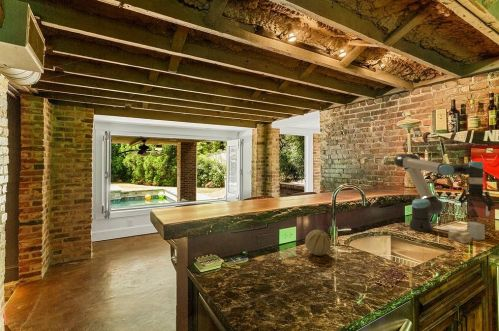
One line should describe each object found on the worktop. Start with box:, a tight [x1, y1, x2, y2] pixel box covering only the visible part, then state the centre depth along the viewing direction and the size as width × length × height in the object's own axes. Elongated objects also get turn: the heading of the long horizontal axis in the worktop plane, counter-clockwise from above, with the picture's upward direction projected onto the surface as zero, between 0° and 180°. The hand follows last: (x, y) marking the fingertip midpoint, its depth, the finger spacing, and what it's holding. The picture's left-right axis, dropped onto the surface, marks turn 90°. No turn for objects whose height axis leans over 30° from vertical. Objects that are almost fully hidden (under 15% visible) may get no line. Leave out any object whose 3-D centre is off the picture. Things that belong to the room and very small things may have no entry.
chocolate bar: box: [376, 267, 406, 285], centre depth 119 cm, size 7×19×2 cm, turn 131°
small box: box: [466, 221, 486, 241], centre depth 175 cm, size 8×6×10 cm
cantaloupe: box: [304, 229, 332, 256], centre depth 149 cm, size 15×15×15 cm
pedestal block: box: [447, 229, 472, 244], centre depth 170 cm, size 9×9×6 cm
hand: (475, 213), depth 175 cm, fingers open, 13 cm apart
